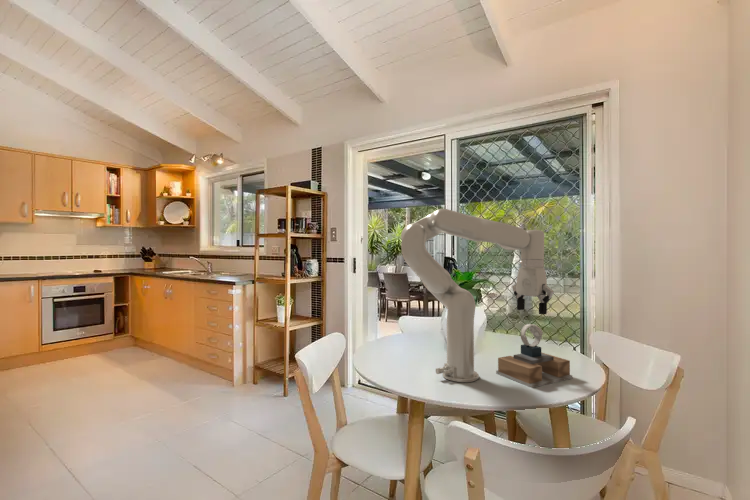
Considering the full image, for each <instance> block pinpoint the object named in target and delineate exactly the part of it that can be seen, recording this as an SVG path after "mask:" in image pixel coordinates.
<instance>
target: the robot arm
mask: <svg viewBox="0 0 750 500" xmlns="http://www.w3.org/2000/svg"><path fill="white" fill-rule="evenodd" d="M442 233H443V234H446V235H450V236H454V237H457V238H461V239H464V240H467V241H468V240H469V241H473V242H480V243H481V242H484V243H489V244H490V243H491V244H495V245H499V246H500V247H501V249H504V250H506V251H518V250H519V251H520V250H521V253H520V256H521V259H520V261H519V264H520V267H519V268H518V271H517V278H516V284H514V285H513V286H511V287H512V291H513V295H514V296H515V299H516V300H517V301H516V310H518V311H524V310H525V308H526V307H525V305H526V303H525V301H526V299H525V297H533V298H537V299H538V300H539V301H540V302H539V303H538V314H539V315H546V314H547V312H548V303H549V302H550V300H551V299H552V298H553V294H554V290H553V289H551V288H550V287H549V286H548V284H547V275H546V274H547V273H546V268H544V266H545V262H544V261H545V233H544V231H543V230H541V229H526V230H525V229H524V228H523V227H519V226H516V225H512V224H507V223H505V222H501V221H496V220H490V219H487V218H481V217H478V216H473V215H469V214H466V213H462V212H459V211H455V210H452V209H447V208H439V209H436V210H435V211H433V212H431V213H430V214H428V215H427V216H424V217H422V218H421V219H419V220H416V221H415V222H412V223H410V224H407V225H406V226H404V228H403V229H402V230H401V233H400V237H401V238H400V239H401V242H400V244H401V246H400V247H401V253H402V258H403V259H404V262H405V263H406V264H407V265H408V267H409V268H410V269H411V271H413V273H414V274H415V275H416V276H417V277H418V278H419V279H420V280H421V281H422V284H423V286H424V287H425V289H427V291H429V292H430V293H431V294H432V295H433V296H434V297H435V299H436V300H438V301H439V303H440V304H441V305H443V307H444V308H445V309H447V314H446V363H444V365H443V366H442V367H437V368H435V373H436V374H437V375H441V374H442V377H443V378H444V379H446V380H449V381H451V382H457V383H471V382H476V381H477V380H479V377H480V376H479V373H478V372H477V371H475V328H474V327H475V314H476V313H475V312H476V300H475V298H474V295H473V294H472V293H471V291H469V290H467V289H465V288H463V287H461V286H460V285H459V284H458V283H456V282H455V280H453V278H452V276H451V274H450V273H449V271H448V270H447V269H445V268H444V267H443V266H442V265H441V264H440V263H439V262H438V261H437V260H436V259H435V258H434V257H433V256H432V254H430V253H429V251H428V250H427V248H426V241H429V240H430V239H432V238H435V237H436V236H438V235H440V234H442Z"/></svg>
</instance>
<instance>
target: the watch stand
mask: <svg viewBox="0 0 750 500" xmlns="http://www.w3.org/2000/svg"><path fill="white" fill-rule="evenodd" d="M570 362H571V360H569V359H566V358H562V357H560V356H559V357H558V356H556V355H552V354H549V353H545V352H542V351H541V356H538V357H530V356H527V355H524V354H521V353H516V354H513V355H507V356H501V357H498V358H497V369H498V370H495V373H496V374H497V375H500V376H502V377H504V378H507V379H509V380H512V381H513V382H516V383H518V384H519V383H520V384H521V385H524V386H525V387H526V386H527V387H528V388H531V389H532V388H536V387H537V388H538V387H540V386H541V387H542V386H547V385H549V384H553V383H554V384H555V383H558V382H559V383H560V382H562V381H566V380H572V379H573V375H572V374H571V365H570V364H571V363H570Z"/></svg>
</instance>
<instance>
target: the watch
mask: <svg viewBox="0 0 750 500" xmlns="http://www.w3.org/2000/svg"><path fill="white" fill-rule="evenodd" d="M528 330H529V332H530V333H531V334H532V335H533V337H534V340H533V342H532V343H530V341H528V337H527V335H526V333H527V331H528ZM543 333H544V332H543V331H542V328H541V327H539V326H538V325H537V324H534V323H533V324H531V323H526V324H524V325H523V326H522V328H521V330H520V339H521V342H522V343H523V344H520V354H524V355H527V356H530V357H538V356H541V352H542V347H541V346H539V344H540V342H541V341H542V338H543V335H544V334H543Z"/></svg>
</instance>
